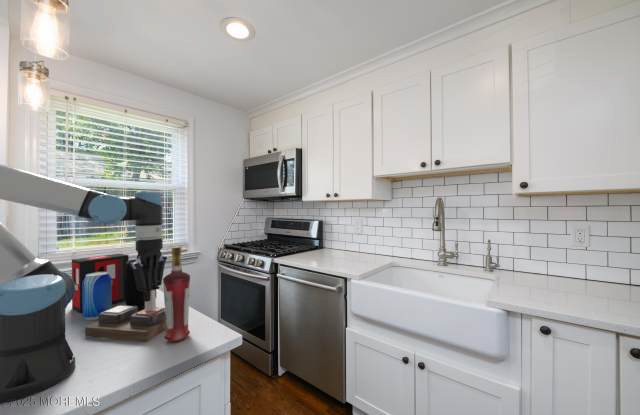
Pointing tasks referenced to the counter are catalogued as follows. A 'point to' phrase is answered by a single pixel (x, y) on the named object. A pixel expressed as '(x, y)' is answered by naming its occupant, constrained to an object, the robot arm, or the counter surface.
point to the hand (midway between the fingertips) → (150, 309)
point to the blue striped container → (96, 294)
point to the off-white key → (118, 309)
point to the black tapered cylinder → (132, 289)
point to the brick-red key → (149, 312)
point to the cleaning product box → (105, 263)
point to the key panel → (127, 325)
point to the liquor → (176, 300)
